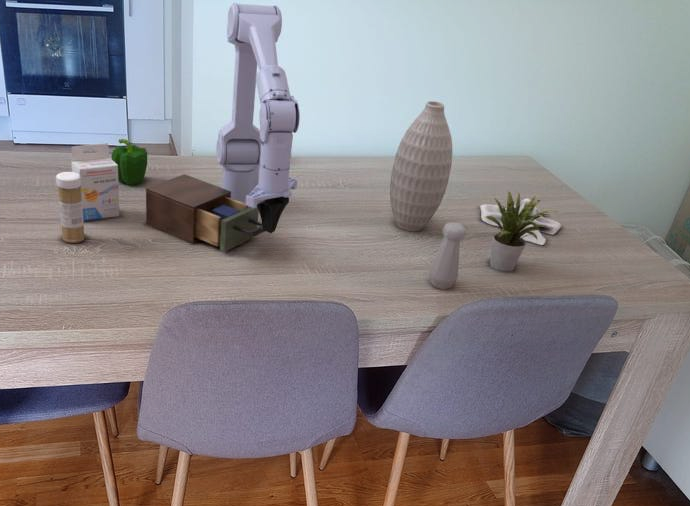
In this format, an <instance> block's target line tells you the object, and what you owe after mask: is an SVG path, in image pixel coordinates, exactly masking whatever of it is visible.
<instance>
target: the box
mask: <svg viewBox="0 0 690 506" xmlns="http://www.w3.org/2000/svg"><path fill="white" fill-rule="evenodd" d="M238 212H240V211H239V210H236V209H234V208H231V207H228V206H226V205H222V206H220V207H217V208H215V209H213V210H212V214H214V215H217V216H219V217H221V220H223V219H225V218H227V217H230V216H232V215H234V214H236V213H238ZM220 236H221V227H220Z"/></svg>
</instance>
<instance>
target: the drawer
mask: <svg viewBox="0 0 690 506" xmlns="http://www.w3.org/2000/svg"><path fill="white" fill-rule="evenodd" d="M222 205H226V206H228V207H231V208H234V209H236V210H239V211H240V212H238V213H236V214H234V215H232V216H230V217H227V218H225V219H223V220H221V217H219V216H217V215H214V214H212V210H213V209H215V208H217V207H220V206H222ZM220 227H221V236H220ZM263 233H266V231H263V227H262V221H259V210H258V208H257V207H255V208H252V207H249V208H248V206H247V205H246V204H245V203H243V202H240V201H237V200H235V199H232V198H229V197H227V196H225V197H223V198H220V199H218V200H216V201H213V202H211V203H209V204H206V205H204V206H201V207H199V208H197V209H196V213H195V237H196V238H198V239H200V241H203V242H205V243H208V244H210V245H212V246H215V247H219V250H220V251H222V252H223V253H225V252H227V251H229V250H231V249H233V248H236V247H237V246H239V245H241V244H243V243H245V242H247V241H249V240H251V239H253V238H255V237H258V236H259V235H261V234H263Z"/></svg>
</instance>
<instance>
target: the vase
mask: <svg viewBox="0 0 690 506" xmlns="http://www.w3.org/2000/svg"><path fill="white" fill-rule="evenodd" d="M452 139H453V138H452V134H451V130H450V126H449V124H448V121H447V118H446V114H445V104H444V103H442V102H439V101H435V100H430V101H427V102H426V103H425V106H424V109H422V111H421V113H420V114H419V115H418V116H417V117H416V118H415V119H414V120H413V122H412V123H411V124H410V125H409V127H408V128H407V129H406V131H405V133H403V136H402V138H401V140H400V142H399V145H398V147H397V150H396V153H395V157H394V160H393V164H392V169H391V171H392V172H391V176H390V184H389V199H390V207H391V208H390V209H391V213H392V216H393V218H394V221H395V223H396V226H397V227H398V228H400V229H401V230H404V231H408V232H419V231H421V230H422V229H424V227H426V226H427V225H428V223H430V221H431V220H432V219H433V217H434V215H435V214H436V213H437V211H438V209H439V207H440V205H441V203H442V201H443V199H444V196H445V194H446V190H447V187H448V183H449V179H450V176H451V170H452V166H453V165H452V164H453V140H452Z"/></svg>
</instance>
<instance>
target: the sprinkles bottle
mask: <svg viewBox="0 0 690 506" xmlns="http://www.w3.org/2000/svg"><path fill="white" fill-rule="evenodd" d="M55 183H56V186H57V191H58V205H59V206H58V207H59V217H60V225H61V234H62V236H61V239H62V240H63V241H64V242H66V243H70V244H72V243H73V244H75V243H80V242H83V241H84V240H85V238H86V235H85V227H84V221H83V210H82V198H81V176H80V175H79V174H78V173H75V172H72V171H62V172H59V173H57V175H56V176H55Z"/></svg>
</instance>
